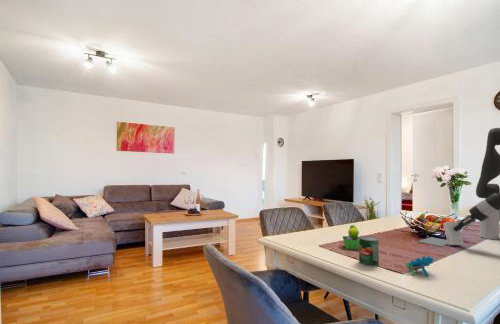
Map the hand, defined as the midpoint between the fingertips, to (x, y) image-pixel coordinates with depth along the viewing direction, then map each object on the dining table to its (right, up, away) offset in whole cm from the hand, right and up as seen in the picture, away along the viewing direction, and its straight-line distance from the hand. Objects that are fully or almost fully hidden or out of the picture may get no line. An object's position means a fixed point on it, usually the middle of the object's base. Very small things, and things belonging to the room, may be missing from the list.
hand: (454, 229), depth 148 cm
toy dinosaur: (-44, -8, -39) cm, 60 cm away
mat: (-5, -9, +8) cm, 13 cm away
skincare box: (0, -8, -1) cm, 8 cm away
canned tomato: (-59, -8, -29) cm, 67 cm away
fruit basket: (-57, -8, -5) cm, 57 cm away
